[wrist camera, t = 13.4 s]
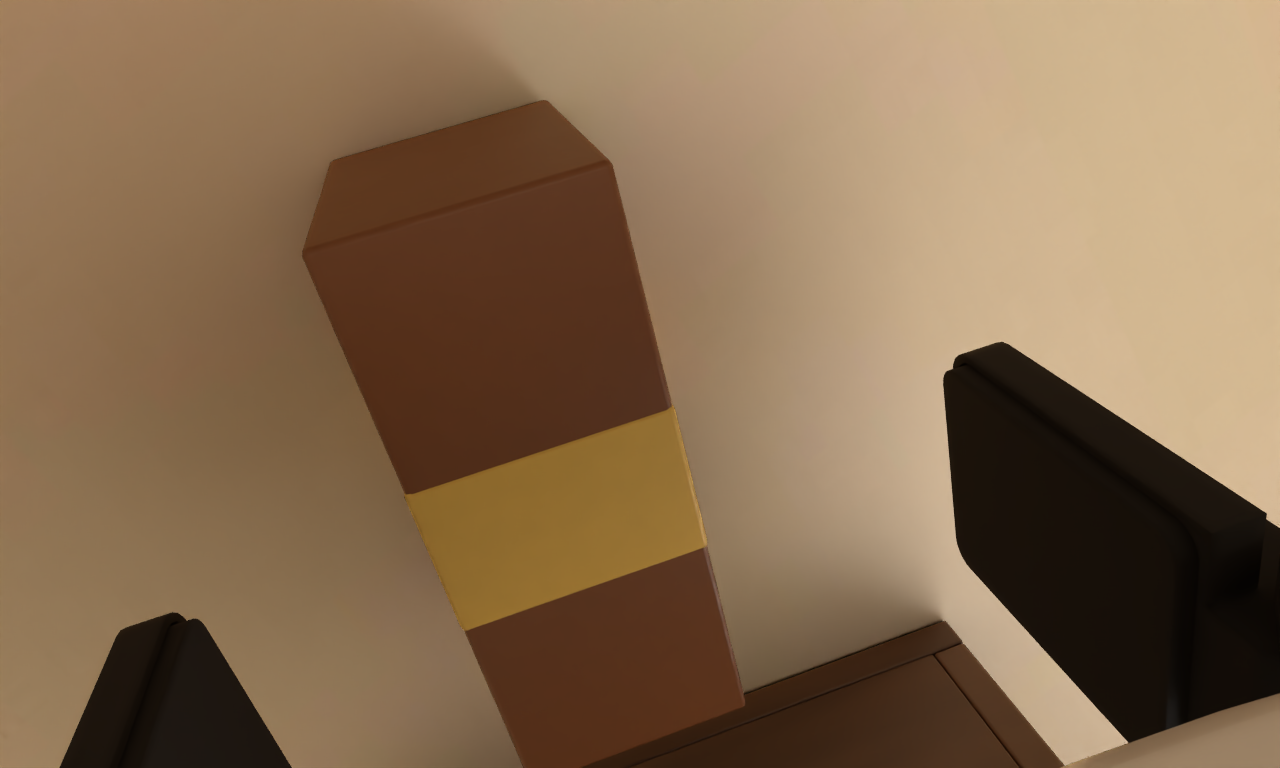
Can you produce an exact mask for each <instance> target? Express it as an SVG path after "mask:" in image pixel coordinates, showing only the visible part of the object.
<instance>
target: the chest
mask: <svg viewBox="0 0 1280 768" xmlns="http://www.w3.org/2000/svg"><path fill="white" fill-rule="evenodd" d="M744 697H745V706H744V707H742V708H740V709H737V710H734V711H732V712H729V713H726V714H724V715H721V716H718V717H716V718H713V719H710V720H708V721H705V722H702V723H700V724H697V725H694V726H691V727H689V728H686V729H683V730H681V731H678V732H675V733H673V734H670V735H667V736H665V737H662V738H659V739H657V740H654V741H651V742H648V743H646V744H643V745H640V746H638V747H635V748H632V749H630V750H627V751H624V752H622V753H619V754H616V755H614V756H611V757H608V758H605V759H603V760H600V761H597V762H595V763H592V764H589V765H587V766H584V767H581V768H1061V767H1063V766H1064V764H1063V763H1062V762H1061V761H1060V760H1059V758H1058V757H1057V756H1056V755H1055V754H1054V752H1053V751H1052V750H1051V749H1050V747H1049V746H1048V745H1047V744H1046V743H1045V741H1044V740H1043V739H1042V738H1041V737H1040V735H1039V734H1038V733H1037V732H1036V731H1035V729H1034V728H1033V727H1032V726H1031V724H1030V723H1029V722H1028V721H1027V720H1026V718H1025V717H1024V716H1023V715H1022V714H1021V712H1020V711H1019V710H1018V709H1017V708H1016V706H1015V705H1014V704H1013V703H1012V701H1011V700H1010V699H1009V698H1008V697H1007V695H1006V694H1005V693H1004V692H1003V691H1002V689H1001V688H1000V687H999V686H998V685H997V683H996V682H995V681H994V680H993V678H992V677H991V676H990V675H989V674H988V672H987V671H986V670H985V669H984V668H983V666H982V665H981V664H980V663H979V661H978V660H977V659H976V658H975V657H974V655H973V654H972V653H971V652H970V651H969V649H968V648H967V647H966V646H965V645H964V644H963V643H962V640H961V639H960V638H959V637H958V635H957V634H956V633H955V632H954V631H953V629H952V628H951V627H950V626H949V625H948V623H947V622H946V621H942V622H940V623H937V624H934V625H932V626H929V627H926V628H923V629H921V630H918V631H915V632H913V633H910V634H907V635H905V636H902V637H899V638H896V639H894V640H891V641H888V642H886V643H883V644H880V645H878V646H875V647H872V648H869V649H867V650H864V651H861V652H859V653H856V654H853V655H851V656H848V657H845V658H843V659H840V660H837V661H834V662H832V663H829V664H826V665H824V666H821V667H818V668H816V669H813V670H810V671H807V672H805V673H802V674H799V675H797V676H794V677H791V678H789V679H786V680H783V681H780V682H778V683H775V684H772V685H770V686H767V687H764V688H762V689H759V690H756V691H753V692H751V693H748V694H745V695H744Z"/></svg>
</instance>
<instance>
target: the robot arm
mask: <svg viewBox="0 0 1280 768" xmlns="http://www.w3.org/2000/svg"><path fill="white" fill-rule="evenodd" d="M943 386H944V398H945V410H946V422H947V434H948V446H949V458H950V470H951V482H952V494H953V506H954V518H955V530H956V539H957V544H958V547H959V550H960V553H961V555H962V557H963V559H964V560H965V562H966V564H967V565H968V566H969V568H970V569H971V570H972V571H973V572H974V573H975V574H976V575H977V576H978V577H979V579H980V580H981V581H982V582H983V583H984V584H985V585H986V586H987V587H988V588H989V590H990V591H991V592H992V593H993V594H994V595H995V596H996V597H997V598H998V599H999V601H1000V602H1001V603H1002V604H1003V605H1004V606H1005V607H1006V608H1007V609H1008V610H1009V612H1010V613H1011V614H1012V615H1013V616H1014V617H1015V618H1016V619H1017V620H1018V621H1019V623H1020V624H1021V625H1022V626H1023V627H1024V628H1025V629H1026V630H1027V631H1028V632H1029V634H1030V635H1031V636H1032V637H1033V638H1034V639H1035V640H1036V641H1037V642H1038V643H1039V645H1040V646H1041V647H1042V648H1043V649H1044V650H1045V651H1046V652H1047V653H1048V654H1049V656H1050V657H1051V658H1052V659H1053V660H1054V661H1055V662H1056V663H1057V664H1058V665H1059V667H1060V668H1061V669H1062V670H1063V671H1064V672H1065V673H1066V674H1067V675H1068V676H1069V678H1070V679H1071V680H1072V681H1073V682H1074V683H1075V684H1076V685H1077V686H1078V687H1079V689H1080V690H1081V691H1082V692H1083V693H1084V694H1085V695H1086V696H1087V697H1088V698H1089V700H1090V701H1091V702H1092V703H1093V704H1094V705H1095V706H1096V707H1097V708H1098V709H1099V711H1100V712H1101V713H1102V714H1103V715H1104V716H1105V717H1106V718H1107V719H1108V720H1109V722H1110V723H1111V724H1112V725H1113V726H1114V727H1115V728H1116V729H1117V730H1118V732H1119V733H1120V734H1121V735H1122V736H1123V737H1124V738H1125V739H1126V740H1127V741H1128V744H1125V745H1122V746H1119V747H1116V748H1114V749H1111V750H1108V751H1105V752H1102V753H1099V754H1097V755H1094V756H1091V757H1088V758H1085V759H1082V760H1080V761H1077V762H1074V763H1071V764H1069V765H1066V766H1063V767H1061V768H1280V528H1279V527H1277V526H1276V525H1274V524H1273V523H1271V522H1269V521H1268V520H1266V516H1267V513H1265V512H1264V511H1262V510H1260V509H1259V508H1257V507H1256V506H1254V505H1253V504H1251V503H1250V502H1248V501H1247V500H1245V499H1244V498H1242V497H1241V496H1239V495H1238V494H1236V493H1235V492H1233V491H1231V490H1230V489H1228V488H1227V487H1225V486H1224V485H1222V484H1221V483H1219V482H1218V481H1216V480H1215V479H1213V478H1212V477H1210V476H1209V475H1207V474H1206V473H1204V472H1202V471H1201V470H1199V469H1198V468H1196V467H1195V466H1193V465H1192V464H1190V463H1189V462H1187V461H1186V460H1184V459H1183V458H1181V457H1180V456H1178V455H1176V454H1175V453H1173V452H1172V451H1170V450H1169V449H1167V448H1166V447H1164V446H1163V445H1161V444H1160V443H1158V442H1157V441H1155V440H1154V439H1152V438H1151V437H1149V436H1147V435H1146V434H1144V433H1143V432H1141V431H1140V430H1138V429H1137V428H1135V427H1134V426H1132V425H1131V424H1129V423H1128V422H1126V421H1125V420H1123V419H1122V418H1120V417H1118V416H1117V415H1115V414H1114V413H1112V412H1111V411H1109V410H1108V409H1106V408H1105V407H1103V406H1102V405H1100V404H1099V403H1097V402H1096V401H1094V400H1092V399H1091V398H1089V397H1088V396H1086V395H1085V394H1083V393H1082V392H1080V391H1079V390H1077V389H1076V388H1074V387H1073V386H1071V385H1070V384H1068V383H1067V382H1065V381H1063V380H1062V379H1060V378H1059V377H1057V376H1056V375H1054V374H1053V373H1051V372H1050V371H1048V370H1047V369H1045V368H1044V367H1042V366H1041V365H1039V364H1038V363H1036V362H1034V361H1033V360H1031V359H1030V358H1028V357H1027V356H1025V355H1024V354H1022V353H1021V352H1019V351H1018V350H1016V349H1015V348H1013V347H1012V346H1010V345H1008V344H1006V343H1004V342H998V343H994V344H991V345H988V346H985V347H982V348H979V349H976V350H973V351H970V352H967V353H964V354H961V355H958V356H957V357H956V358H955V361H954V364H953V369H952V370H949V371H947V372H946V373H945V375H944V378H943ZM60 768H292V767H291V766H290V764H289V762H288V761H287V759H286V757H285V756H284V754H283V753H282V751H281V749H280V748H279V746H278V744H277V743H276V741H275V740H274V738H273V736H272V735H271V733H270V731H269V730H268V728H267V726H266V725H265V723H264V722H263V720H262V718H261V717H260V715H259V713H258V712H257V710H256V708H255V707H254V705H253V704H252V702H251V700H250V699H249V697H248V695H247V694H246V692H245V690H244V689H243V687H242V686H241V684H240V682H239V681H238V679H237V677H236V676H235V674H234V673H233V671H232V669H231V668H230V666H229V664H228V663H227V661H226V659H225V658H224V656H223V655H222V653H221V651H220V650H219V648H218V646H217V645H216V643H215V641H214V640H213V638H212V637H211V635H210V633H209V632H208V630H207V628H206V627H205V626H204V624H203V623H202V622H201V621H200V620H198V619H191V620H188V621H186V619H185V618H184V617H183V616H181V615H180V614H178V613H173V612H172V613H169V614H166V615H163V616H160V617H157V618H154V619H150V620H147V621H144V622H141V623H138V624H135V625H132V626H129V627H126V628H124V629H122V630H120V632H119V633H118V635H117V636H116V639H115V641H114V643H113V645H112V648H111V650H110V652H109V655H108V657H107V659H106V662H105V664H104V666H103V669H102V671H101V673H100V676H99V678H98V680H97V682H96V685H95V687H94V689H93V692H92V694H91V696H90V699H89V701H88V703H87V706H86V708H85V710H84V713H83V715H82V717H81V719H80V722H79V724H78V726H77V729H76V731H75V733H74V736H73V738H72V740H71V743H70V745H69V747H68V750H67V752H66V754H65V756H64V759H63V761H62V763H61V766H60Z"/></svg>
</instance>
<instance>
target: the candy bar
mask: <svg viewBox="0 0 1280 768" xmlns="http://www.w3.org/2000/svg"><path fill="white" fill-rule="evenodd" d="M302 257H303V260H304V262H305V264H306V267H307V269H308V271H309V274H310V276H311V278H312V280H313V283H314V285H315V287H316V290H317V292H318V294H319V297H320V299H321V301H322V304H323V306H324V308H325V310H326V313H327V315H328V317H329V320H330V322H331V324H332V327H333V329H334V331H335V334H336V336H337V338H338V340H339V343H340V345H341V347H342V350H343V352H344V354H345V357H346V359H347V361H348V364H349V366H350V368H351V370H352V373H353V375H354V377H355V380H356V382H357V384H358V387H359V389H360V391H361V394H362V396H363V398H364V400H365V403H366V405H367V407H368V410H369V412H370V414H371V417H372V419H373V421H374V424H375V426H376V428H377V430H378V433H379V435H380V437H381V440H382V442H383V444H384V447H385V449H386V451H387V454H388V456H389V458H390V460H391V463H392V465H393V467H394V470H395V472H396V474H397V477H398V479H399V481H400V484H401V486H402V488H403V491H404V498H405V500H406V502H407V505H408V507H409V509H410V512H411V514H412V516H413V518H414V521H415V523H416V525H417V528H418V530H419V532H420V535H421V537H422V539H423V542H424V544H425V546H426V548H427V551H428V553H429V555H430V558H431V560H432V562H433V565H434V567H435V569H436V571H437V574H438V576H439V578H440V581H441V583H442V585H443V588H444V590H445V592H446V594H447V597H448V599H449V601H450V604H451V606H452V608H453V611H454V613H455V615H456V617H457V620H458V622H459V624H460V627H461V628H462V629H463V630H464V631H465V634H466V636H467V638H468V641H469V643H470V645H471V647H472V650H473V652H474V654H475V657H476V659H477V661H478V664H479V666H480V668H481V671H482V673H483V675H484V677H485V680H486V682H487V684H488V687H489V689H490V691H491V694H492V696H493V698H494V701H495V703H496V705H497V707H498V710H499V712H500V714H501V717H502V719H503V721H504V724H505V726H506V728H507V731H508V733H509V735H510V737H511V740H512V742H513V744H514V747H515V749H516V751H517V754H518V756H519V758H520V761H521V763H522V765H523V768H581V767H584V766H587V765H589V764H592V763H595V762H597V761H600V760H603V759H605V758H608V757H611V756H614V755H616V754H619V753H622V752H624V751H627V750H630V749H632V748H635V747H638V746H640V745H643V744H646V743H648V742H651V741H654V740H657V739H659V738H662V737H665V736H667V735H670V734H673V733H675V732H678V731H681V730H683V729H686V728H689V727H691V726H694V725H697V724H700V723H702V722H705V721H708V720H710V719H713V718H716V717H718V716H721V715H724V714H726V713H729V712H732V711H734V710H737V709H740V708H742V707H744V706H745V697H744V693H743V689H742V685H741V681H740V677H739V673H738V669H737V665H736V661H735V657H734V653H733V649H732V645H731V641H730V637H729V633H728V629H727V624H726V620H725V616H724V612H723V608H722V604H721V600H720V596H719V592H718V588H717V584H716V580H715V576H714V572H713V568H712V564H711V560H710V556H709V552H708V548H707V537H706V533H705V529H704V525H703V521H702V517H701V513H700V509H699V505H698V501H697V496H696V492H695V488H694V484H693V480H692V476H691V472H690V468H689V464H688V460H687V456H686V452H685V448H684V444H683V440H682V436H681V432H680V428H679V424H678V419H677V415H676V411H675V408H674V406H673V405H672V403H671V399H670V395H669V391H668V387H667V382H666V378H665V374H664V370H663V366H662V362H661V358H660V354H659V350H658V346H657V342H656V338H655V334H654V330H653V326H652V322H651V318H650V314H649V310H648V306H647V302H646V298H645V294H644V290H643V286H642V282H641V278H640V274H639V270H638V265H637V261H636V257H635V253H634V249H633V245H632V241H631V237H630V233H629V229H628V225H627V221H626V217H625V213H624V209H623V205H622V201H621V197H620V193H619V189H618V185H617V181H616V177H615V173H614V169H613V165H612V163H611V162H610V161H609V160H608V159H607V158H606V157H605V156H604V155H603V154H602V153H601V152H600V151H599V150H598V149H597V148H596V147H595V146H594V145H593V144H592V143H591V142H590V141H589V140H588V139H587V138H585V137H584V136H583V135H582V134H581V133H580V132H579V131H578V130H577V129H576V128H575V127H574V126H573V125H572V124H571V123H570V122H569V121H568V120H567V119H566V118H565V117H564V116H563V115H561V114H560V113H559V112H558V111H557V110H556V109H555V108H554V107H553V106H552V105H551V104H550V103H549V102H548V101H545V100H542V101H539V102H535V103H532V104H528V105H525V106H521V107H518V108H514V109H511V110H507V111H504V112H500V113H497V114H493V115H490V116H486V117H483V118H480V119H476V120H473V121H469V122H466V123H462V124H459V125H455V126H452V127H448V128H445V129H441V130H438V131H434V132H431V133H427V134H424V135H420V136H417V137H413V138H410V139H406V140H403V141H399V142H396V143H392V144H389V145H385V146H382V147H378V148H375V149H371V150H368V151H364V152H361V153H358V154H354V155H351V156H347V157H344V158H340V159H337V160H333V161H332V162H331V163H330V166H329V169H328V172H327V175H326V178H325V182H324V185H323V188H322V191H321V194H320V197H319V201H318V204H317V207H316V210H315V213H314V216H313V219H312V223H311V226H310V229H309V232H308V235H307V238H306V241H305V245H304V248H303V251H302Z"/></svg>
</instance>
